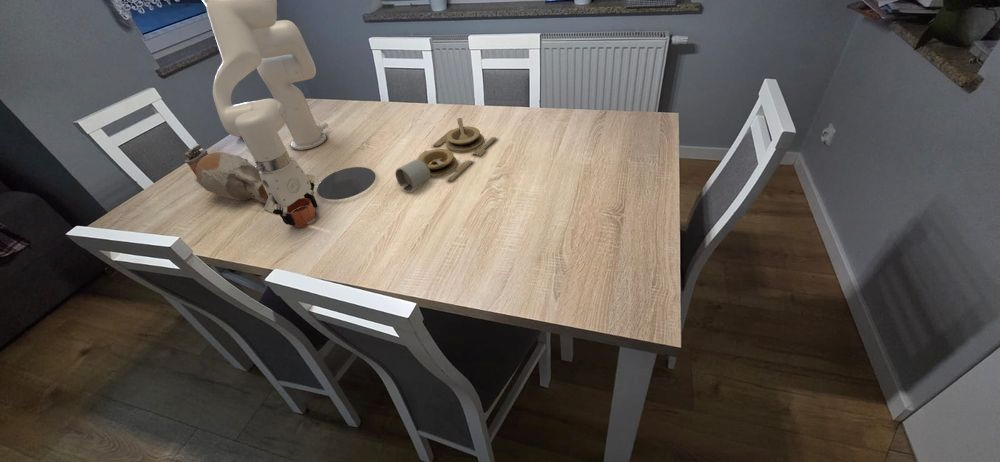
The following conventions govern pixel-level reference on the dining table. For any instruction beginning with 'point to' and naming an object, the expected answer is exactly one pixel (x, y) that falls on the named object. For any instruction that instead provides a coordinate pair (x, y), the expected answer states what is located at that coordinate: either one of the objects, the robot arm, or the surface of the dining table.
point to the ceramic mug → (413, 174)
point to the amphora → (230, 177)
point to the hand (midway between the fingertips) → (302, 215)
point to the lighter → (195, 157)
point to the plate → (346, 183)
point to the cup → (301, 211)
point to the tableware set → (455, 141)
